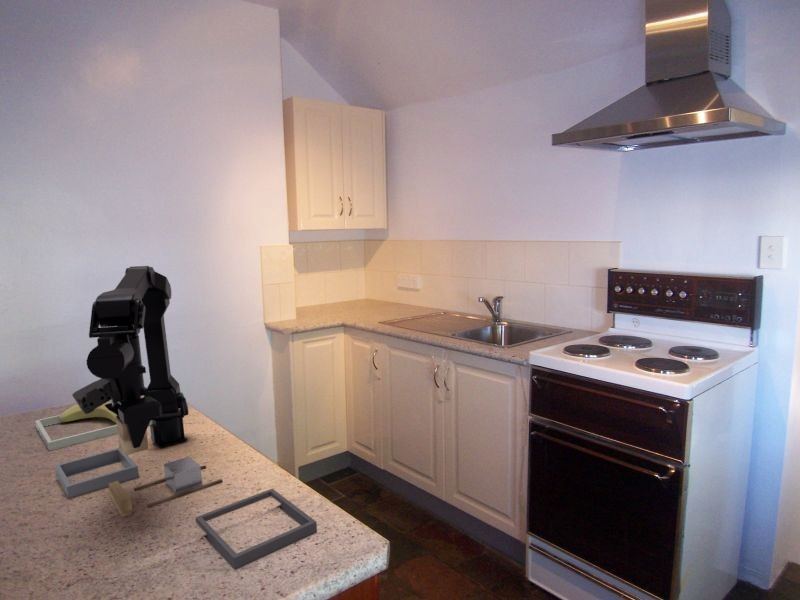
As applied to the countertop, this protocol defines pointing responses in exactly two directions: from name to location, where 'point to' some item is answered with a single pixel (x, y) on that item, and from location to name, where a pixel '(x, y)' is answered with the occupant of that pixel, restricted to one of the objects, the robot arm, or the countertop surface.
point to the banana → (77, 413)
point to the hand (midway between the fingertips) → (133, 443)
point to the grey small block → (183, 474)
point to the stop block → (128, 440)
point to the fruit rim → (71, 439)
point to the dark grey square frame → (265, 547)
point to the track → (124, 500)
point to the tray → (91, 464)
